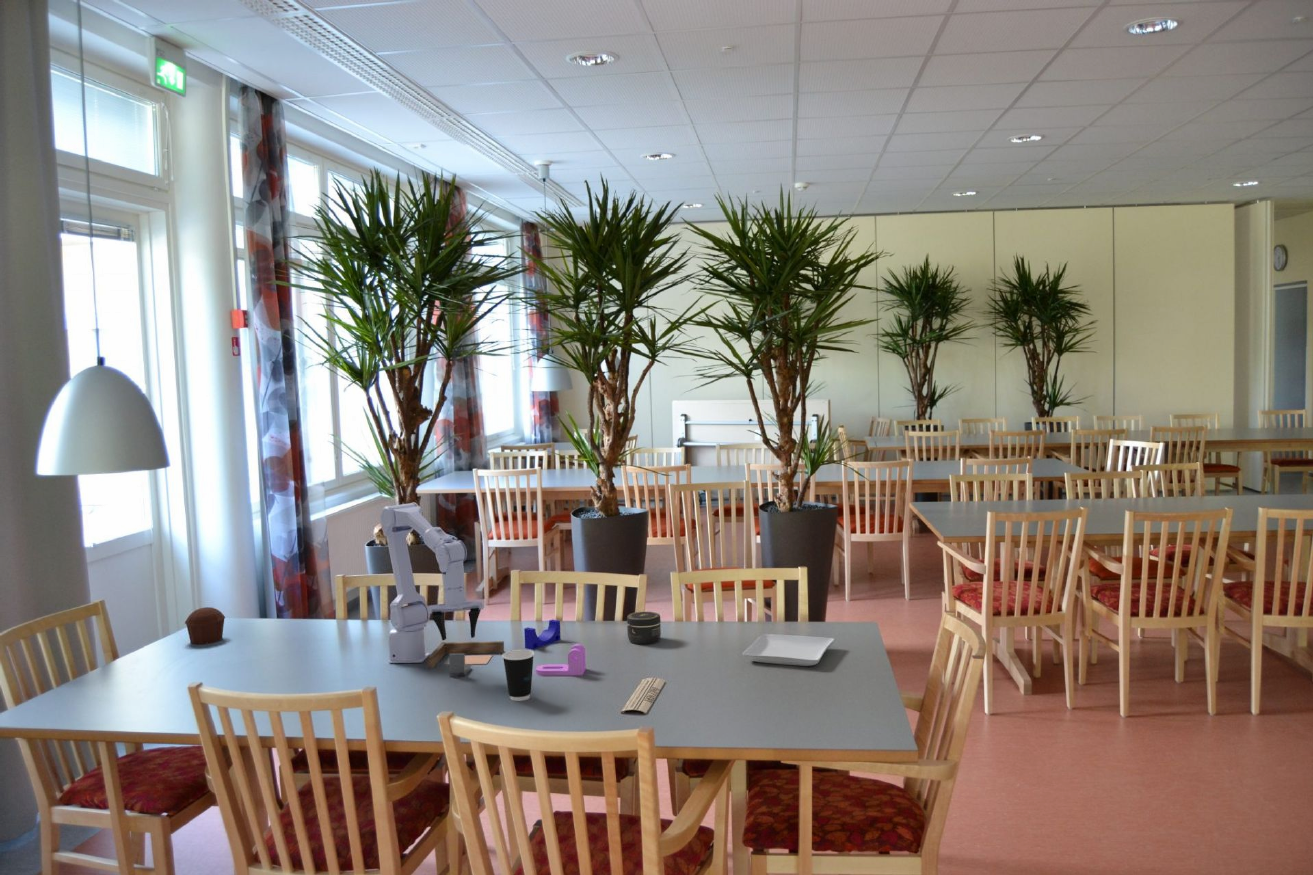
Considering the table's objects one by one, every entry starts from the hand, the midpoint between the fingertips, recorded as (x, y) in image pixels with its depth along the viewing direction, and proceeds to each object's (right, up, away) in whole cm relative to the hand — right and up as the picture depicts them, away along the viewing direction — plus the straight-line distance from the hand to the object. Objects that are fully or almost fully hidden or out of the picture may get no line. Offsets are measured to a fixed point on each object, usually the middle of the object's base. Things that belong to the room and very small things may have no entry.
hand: (458, 638), depth 260 cm
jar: (+49, -7, +29) cm, 57 cm away
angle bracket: (0, -10, +3) cm, 10 cm away
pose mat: (0, -9, +14) cm, 17 cm away
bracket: (+27, -10, +1) cm, 29 cm away
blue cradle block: (+19, -8, +29) cm, 35 cm away
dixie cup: (+19, -11, -19) cm, 29 cm away
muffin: (-87, -10, +44) cm, 98 cm away
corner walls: (-1, -9, +15) cm, 17 cm away
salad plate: (+89, -7, +9) cm, 90 cm away
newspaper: (+50, -11, -21) cm, 56 cm away
